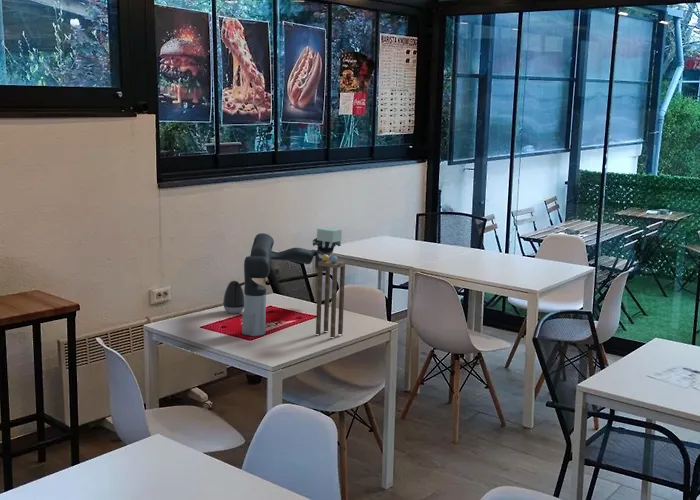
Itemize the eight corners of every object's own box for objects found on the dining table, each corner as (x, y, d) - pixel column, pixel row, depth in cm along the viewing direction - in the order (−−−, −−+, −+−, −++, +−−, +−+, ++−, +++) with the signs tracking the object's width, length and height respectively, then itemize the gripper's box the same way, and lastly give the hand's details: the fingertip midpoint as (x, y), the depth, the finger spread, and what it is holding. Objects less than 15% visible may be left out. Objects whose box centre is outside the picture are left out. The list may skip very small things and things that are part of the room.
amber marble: (328, 260, 331) (323, 255, 330) (323, 263, 333) (319, 258, 332) (331, 257, 333) (326, 251, 333) (327, 260, 335) (322, 254, 335)
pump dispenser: (247, 314, 367) (248, 282, 364) (225, 315, 363) (226, 283, 360) (242, 309, 376) (242, 277, 373) (220, 310, 372) (221, 278, 369)
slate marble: (335, 264, 329) (332, 258, 327) (330, 264, 331) (328, 258, 330) (340, 260, 330) (337, 254, 329) (335, 260, 333) (332, 254, 331)
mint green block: (332, 242, 343) (333, 231, 342) (305, 238, 351) (306, 227, 350) (352, 238, 356) (352, 227, 355) (326, 234, 364) (326, 224, 363)
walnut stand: (332, 339, 332) (335, 264, 327) (315, 335, 337) (318, 261, 331) (342, 335, 338) (345, 262, 332) (325, 331, 343) (327, 259, 337)
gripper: (310, 241, 370) (312, 227, 354) (339, 241, 372) (343, 228, 355) (310, 256, 368) (312, 243, 351) (340, 256, 369) (343, 244, 353)
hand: (328, 235), depth 354 cm, fingers closed on mint green block
